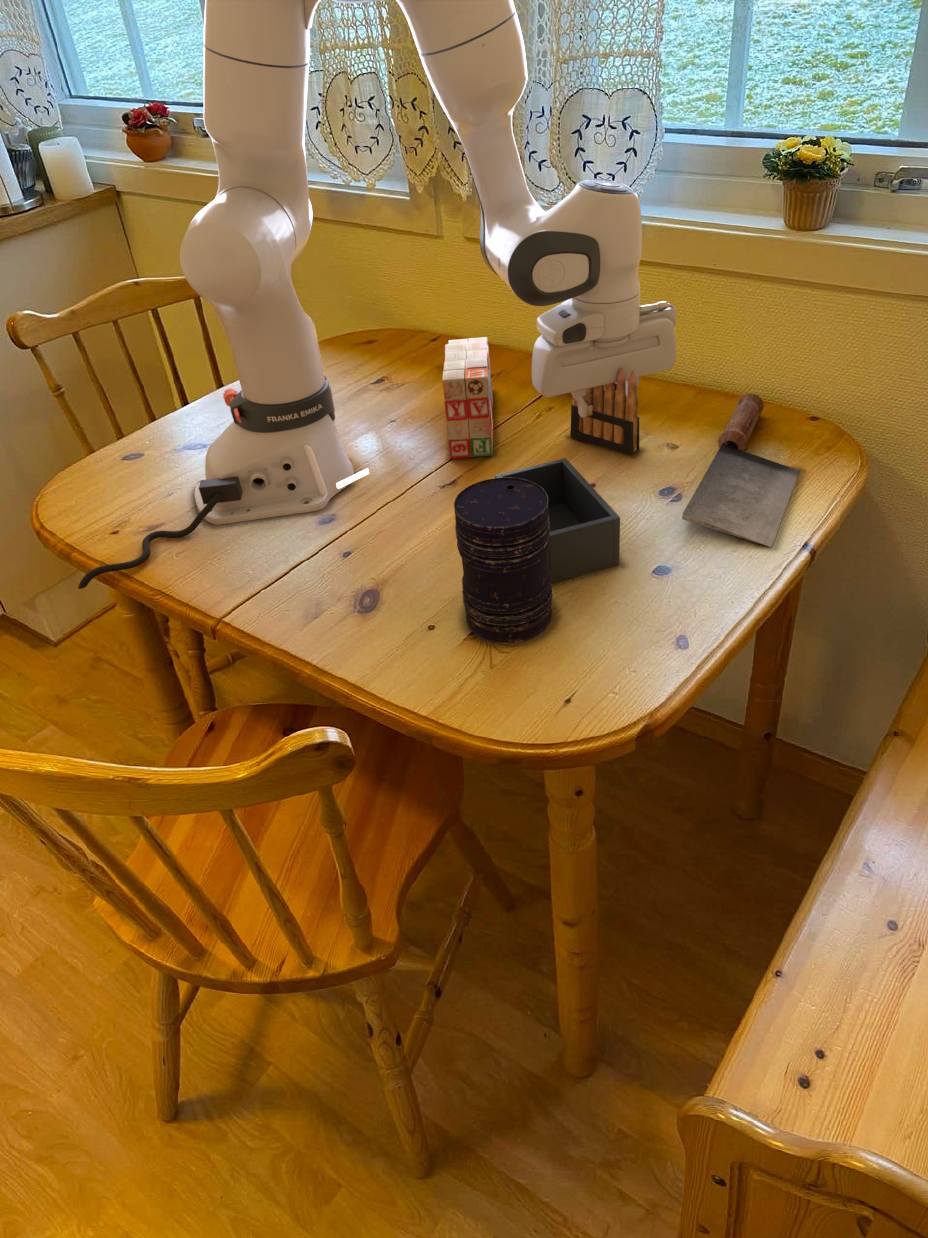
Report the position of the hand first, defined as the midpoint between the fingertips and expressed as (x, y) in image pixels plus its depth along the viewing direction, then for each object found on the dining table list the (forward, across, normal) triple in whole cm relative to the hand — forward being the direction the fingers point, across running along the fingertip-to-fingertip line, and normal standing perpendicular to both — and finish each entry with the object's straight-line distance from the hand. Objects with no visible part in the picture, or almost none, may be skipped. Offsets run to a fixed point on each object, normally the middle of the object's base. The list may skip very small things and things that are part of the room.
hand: (604, 410), depth 129 cm
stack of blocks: (+5, +15, -15) cm, 22 cm away
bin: (+5, +16, +20) cm, 26 cm away
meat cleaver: (+5, -14, +16) cm, 22 cm away
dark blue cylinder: (+5, +26, +31) cm, 41 cm away
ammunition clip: (+5, 0, 0) cm, 5 cm away
